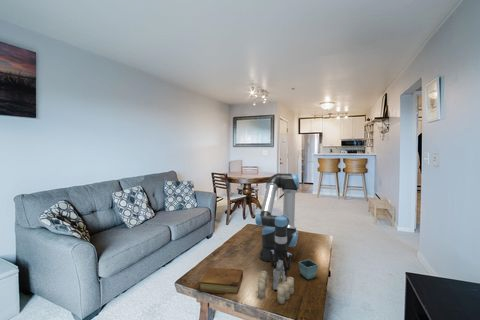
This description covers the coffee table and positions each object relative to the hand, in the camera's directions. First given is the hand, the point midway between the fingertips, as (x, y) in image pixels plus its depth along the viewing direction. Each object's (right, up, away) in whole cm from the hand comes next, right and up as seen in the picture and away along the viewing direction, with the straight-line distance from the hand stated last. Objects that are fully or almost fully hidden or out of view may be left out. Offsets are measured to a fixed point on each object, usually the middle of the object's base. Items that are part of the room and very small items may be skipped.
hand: (280, 279), depth 145 cm
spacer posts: (-6, -1, -14) cm, 15 cm away
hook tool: (-2, -1, -4) cm, 5 cm away
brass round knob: (-3, -1, -6) cm, 7 cm away
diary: (-36, -2, -2) cm, 36 cm away
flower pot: (+19, -2, +6) cm, 19 cm away
